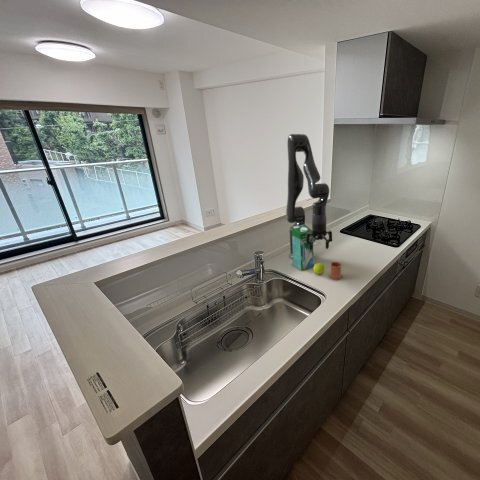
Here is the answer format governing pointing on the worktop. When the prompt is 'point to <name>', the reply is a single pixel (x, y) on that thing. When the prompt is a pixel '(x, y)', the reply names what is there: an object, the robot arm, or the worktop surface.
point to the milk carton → (301, 247)
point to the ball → (319, 268)
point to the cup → (335, 270)
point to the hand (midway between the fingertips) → (319, 249)
